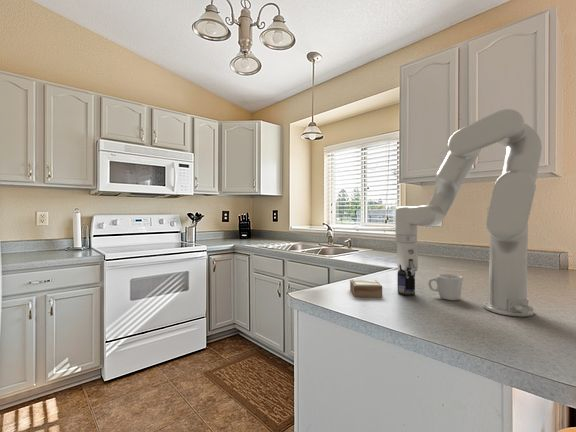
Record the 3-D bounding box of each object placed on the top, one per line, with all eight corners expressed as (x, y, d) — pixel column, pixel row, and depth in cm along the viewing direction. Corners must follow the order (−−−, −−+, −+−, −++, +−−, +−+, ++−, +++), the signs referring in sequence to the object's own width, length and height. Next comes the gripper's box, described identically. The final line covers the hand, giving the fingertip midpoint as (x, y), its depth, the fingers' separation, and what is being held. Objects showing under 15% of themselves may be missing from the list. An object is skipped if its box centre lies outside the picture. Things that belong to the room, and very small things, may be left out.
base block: (382, 297, 110) (382, 285, 110) (354, 296, 110) (354, 285, 110) (375, 290, 120) (375, 279, 120) (350, 289, 120) (350, 279, 120)
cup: (427, 299, 107) (427, 276, 107) (429, 293, 114) (429, 272, 114) (463, 303, 102) (463, 279, 102) (462, 297, 109) (462, 275, 109)
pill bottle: (417, 296, 111) (417, 265, 111) (400, 296, 111) (400, 266, 111) (411, 291, 117) (411, 263, 117) (395, 291, 117) (395, 263, 117)
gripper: (425, 241, 105) (425, 292, 105) (408, 237, 122) (408, 281, 122) (403, 241, 105) (403, 292, 106) (389, 237, 123) (389, 281, 123)
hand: (406, 286), depth 114 cm, fingers open, 7 cm apart
